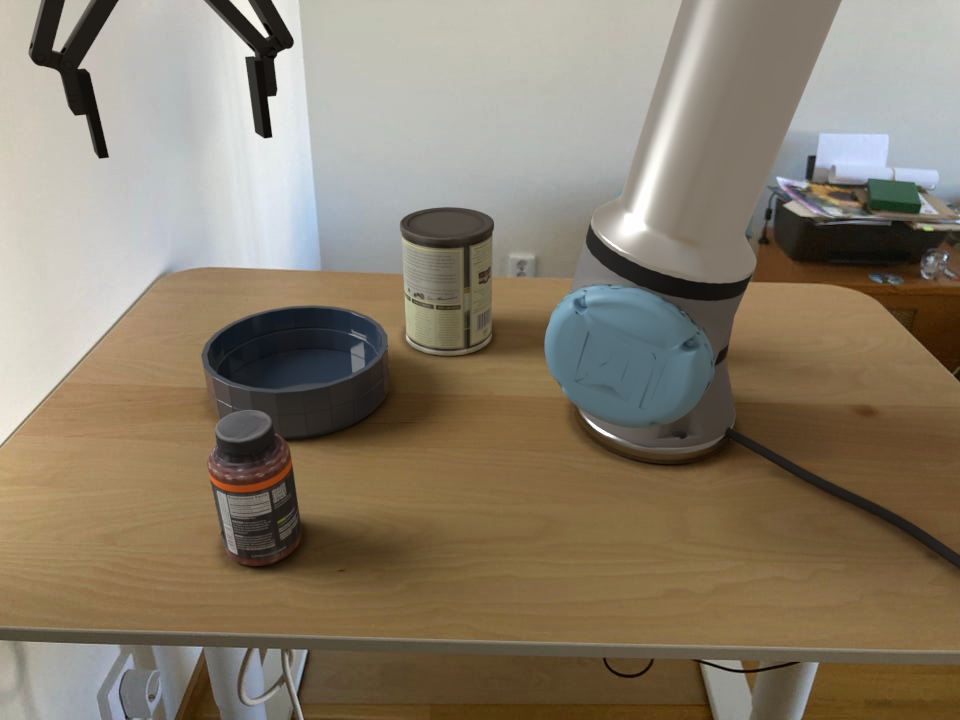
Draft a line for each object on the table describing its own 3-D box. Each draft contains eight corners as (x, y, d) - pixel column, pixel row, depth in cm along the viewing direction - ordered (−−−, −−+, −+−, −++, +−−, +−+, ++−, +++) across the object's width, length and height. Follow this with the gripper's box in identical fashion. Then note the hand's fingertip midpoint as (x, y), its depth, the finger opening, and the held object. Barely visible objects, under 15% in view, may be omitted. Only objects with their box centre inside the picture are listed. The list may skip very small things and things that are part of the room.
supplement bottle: (241, 514, 64) (220, 398, 58) (312, 520, 63) (297, 403, 58) (212, 567, 59) (186, 444, 53) (289, 573, 58) (270, 450, 52)
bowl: (426, 383, 82) (424, 337, 79) (292, 466, 69) (285, 414, 67) (309, 333, 92) (304, 291, 89) (173, 398, 79) (163, 351, 76)
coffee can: (412, 314, 96) (408, 204, 90) (494, 318, 96) (497, 208, 89) (397, 354, 88) (391, 236, 81) (488, 359, 87) (490, 240, 80)
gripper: (282, -139, 65) (308, 120, 75) (-67, -155, 54) (20, 153, 64) (315, -145, 59) (338, 136, 70) (-68, -163, 48) (28, 175, 58)
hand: (186, 144), depth 67 cm, fingers open, 13 cm apart
